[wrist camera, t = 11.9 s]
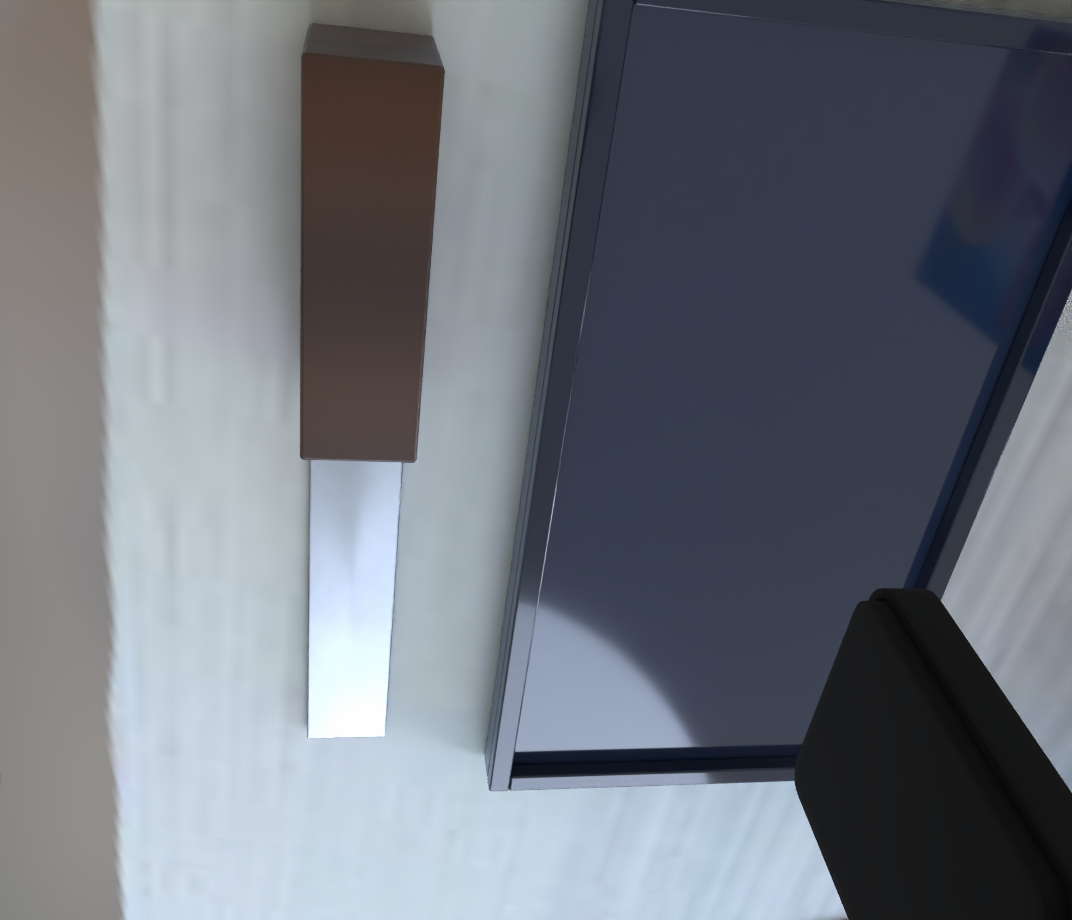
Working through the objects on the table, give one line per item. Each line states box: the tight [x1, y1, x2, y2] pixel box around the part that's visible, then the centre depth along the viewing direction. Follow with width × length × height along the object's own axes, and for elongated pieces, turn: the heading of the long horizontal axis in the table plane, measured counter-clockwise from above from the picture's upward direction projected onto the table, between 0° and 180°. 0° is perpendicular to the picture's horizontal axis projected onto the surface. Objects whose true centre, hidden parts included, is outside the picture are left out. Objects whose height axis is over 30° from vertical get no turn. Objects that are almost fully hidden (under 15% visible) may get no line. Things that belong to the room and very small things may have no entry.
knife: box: [300, 24, 445, 738], centre depth 23 cm, size 19×2×3 cm, turn 173°
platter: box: [485, 0, 1072, 791], centre depth 26 cm, size 22×12×1 cm, turn 173°
